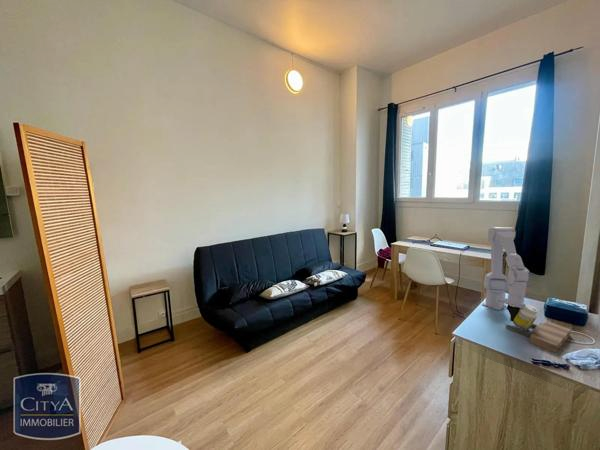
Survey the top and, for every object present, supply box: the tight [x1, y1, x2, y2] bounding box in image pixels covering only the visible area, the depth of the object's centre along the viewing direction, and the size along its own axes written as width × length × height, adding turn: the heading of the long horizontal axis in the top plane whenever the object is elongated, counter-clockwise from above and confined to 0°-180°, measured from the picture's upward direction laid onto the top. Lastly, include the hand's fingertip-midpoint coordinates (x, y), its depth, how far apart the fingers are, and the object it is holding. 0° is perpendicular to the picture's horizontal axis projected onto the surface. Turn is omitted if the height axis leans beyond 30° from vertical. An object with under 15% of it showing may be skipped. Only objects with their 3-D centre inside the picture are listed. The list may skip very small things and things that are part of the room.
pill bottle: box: [512, 303, 539, 332], centre depth 113 cm, size 6×6×11 cm
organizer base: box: [505, 321, 572, 353], centre depth 110 cm, size 20×18×3 cm
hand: (512, 320), depth 117 cm, fingers closed, pressing on pill bottle
